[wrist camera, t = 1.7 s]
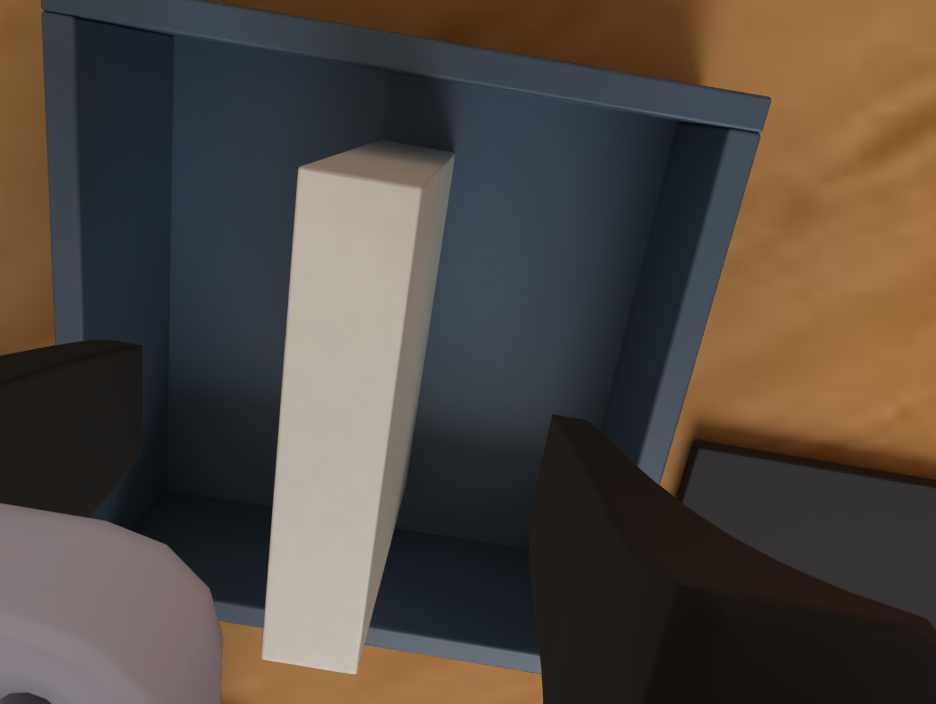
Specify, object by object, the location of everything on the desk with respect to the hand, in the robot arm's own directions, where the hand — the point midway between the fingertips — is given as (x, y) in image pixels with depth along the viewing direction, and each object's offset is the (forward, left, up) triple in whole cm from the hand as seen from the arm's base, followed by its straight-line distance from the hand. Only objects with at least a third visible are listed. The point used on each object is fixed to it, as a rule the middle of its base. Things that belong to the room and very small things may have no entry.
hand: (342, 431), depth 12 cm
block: (0, 0, -6) cm, 6 cm away
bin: (0, 0, -7) cm, 7 cm away
